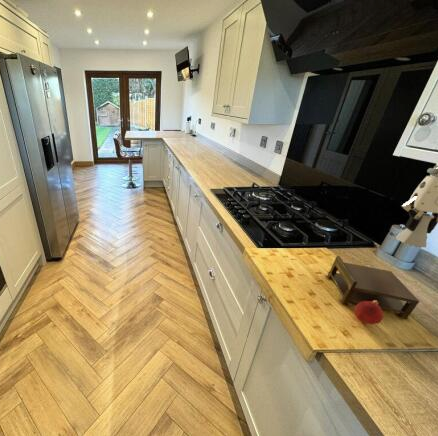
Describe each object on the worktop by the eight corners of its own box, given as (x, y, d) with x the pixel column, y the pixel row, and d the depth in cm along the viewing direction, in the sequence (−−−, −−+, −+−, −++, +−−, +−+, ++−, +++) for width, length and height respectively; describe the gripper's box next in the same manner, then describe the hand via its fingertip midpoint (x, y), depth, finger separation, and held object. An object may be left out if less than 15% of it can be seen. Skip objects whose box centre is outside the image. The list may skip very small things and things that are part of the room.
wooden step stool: (381, 287, 80) (394, 266, 76) (406, 319, 68) (423, 295, 64) (327, 276, 85) (336, 255, 81) (342, 304, 73) (354, 281, 69)
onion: (371, 334, 63) (386, 313, 60) (346, 319, 67) (358, 298, 64) (379, 324, 66) (393, 303, 63) (354, 311, 70) (366, 290, 67)
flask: (419, 239, 79) (435, 212, 74) (431, 250, 73) (450, 221, 69) (391, 234, 82) (405, 208, 77) (400, 244, 76) (417, 216, 71)
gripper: (423, 173, 66) (391, 230, 74) (503, 181, 62) (460, 241, 70) (407, 168, 73) (379, 221, 81) (478, 174, 68) (442, 229, 76)
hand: (417, 229), depth 75 cm, fingers closed on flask, 3 cm apart
